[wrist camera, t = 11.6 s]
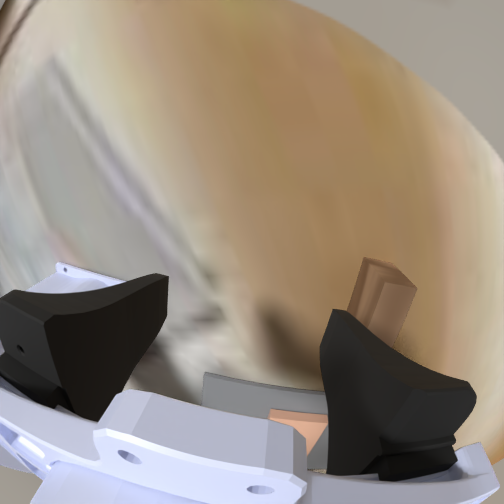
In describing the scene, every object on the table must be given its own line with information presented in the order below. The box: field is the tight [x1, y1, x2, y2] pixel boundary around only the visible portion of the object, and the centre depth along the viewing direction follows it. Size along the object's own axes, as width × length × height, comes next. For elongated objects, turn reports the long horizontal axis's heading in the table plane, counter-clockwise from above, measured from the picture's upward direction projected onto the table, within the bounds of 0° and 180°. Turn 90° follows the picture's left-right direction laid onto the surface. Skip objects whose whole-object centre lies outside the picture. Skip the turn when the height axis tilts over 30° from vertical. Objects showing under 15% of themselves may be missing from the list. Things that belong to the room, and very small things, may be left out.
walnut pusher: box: [347, 257, 417, 348], centre depth 19 cm, size 2×10×5 cm, turn 170°
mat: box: [201, 372, 328, 469], centre depth 26 cm, size 20×16×1 cm
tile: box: [267, 409, 328, 456], centre depth 25 cm, size 6×1×9 cm
